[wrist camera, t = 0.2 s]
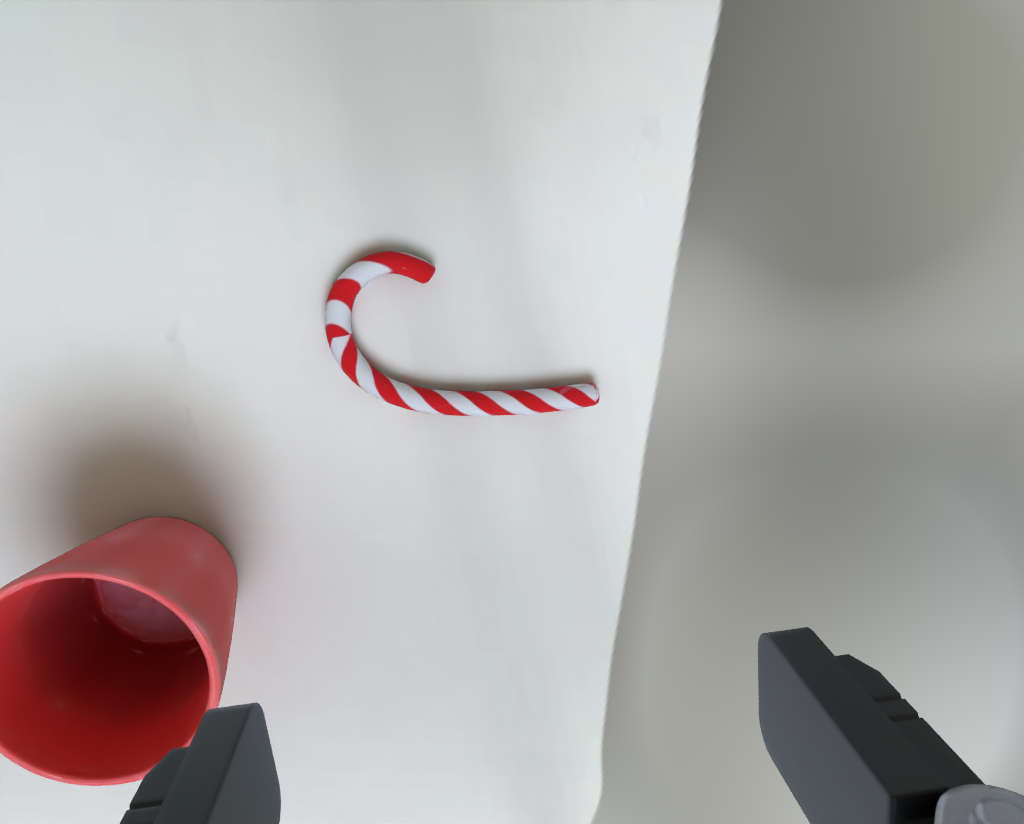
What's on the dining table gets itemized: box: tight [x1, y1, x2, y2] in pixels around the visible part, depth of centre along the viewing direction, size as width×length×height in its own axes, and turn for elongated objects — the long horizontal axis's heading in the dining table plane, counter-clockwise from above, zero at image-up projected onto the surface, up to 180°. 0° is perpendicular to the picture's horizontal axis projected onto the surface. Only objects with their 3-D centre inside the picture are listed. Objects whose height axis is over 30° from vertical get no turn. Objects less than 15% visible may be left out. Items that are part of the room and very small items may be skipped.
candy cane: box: [325, 251, 599, 416], centre depth 39 cm, size 8×1×15 cm
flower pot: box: [0, 517, 237, 786], centre depth 37 cm, size 11×11×10 cm
